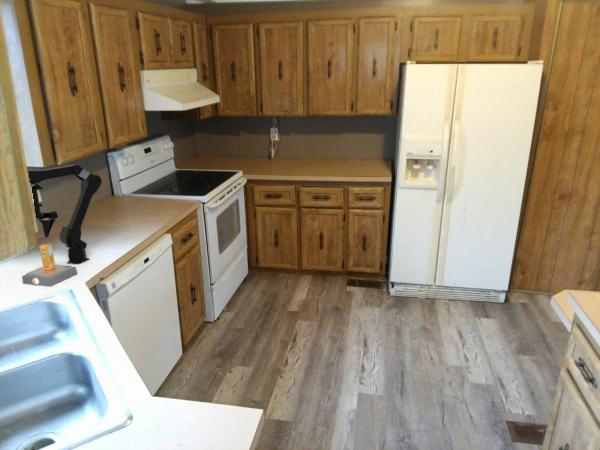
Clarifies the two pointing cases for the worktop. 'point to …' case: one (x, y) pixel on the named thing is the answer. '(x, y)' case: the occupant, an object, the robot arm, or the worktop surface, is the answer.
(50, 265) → the supplement box
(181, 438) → the worktop surface
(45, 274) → the pan
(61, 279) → the kitchen scale
